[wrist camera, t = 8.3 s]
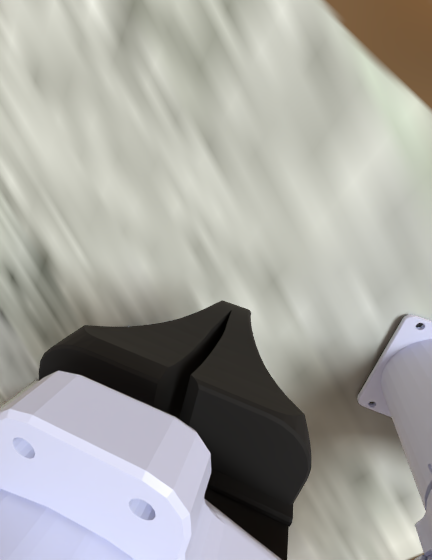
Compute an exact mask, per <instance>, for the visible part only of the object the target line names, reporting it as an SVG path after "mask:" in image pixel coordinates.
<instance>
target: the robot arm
mask: <svg viewBox="0 0 432 560" xmlns="http://www.w3.org/2000/svg"><path fill="white" fill-rule="evenodd" d="M418 323H423V325H422V326H421V327H416V325H417V324H418ZM357 400H358V403H359V404H360V405H361V406H363V407H366V408H368V409H371V410H373V411H376V412H379V413H381V414H384V415H386V416H389V417H392V420H393V422H394V425H395V428H396V431H397V433H398V436H399V439H400V442H401V444H402V447H403V450H404V453H405V455H406V458H407V461H408V464H409V466H410V469H411V472H412V475H413V477H414V480H415V483H416V486H417V488H418V491H419V494H420V497H421V499H422V502H423V505H424V508H425V510H426V513H425V515H424V517H423V518H422V519H421V520H420V521H418V522H417V523H416V524H415V527H416V530H417V533H418V536H419V539H420V542H421V545H422V548H423V552H424V555H422V556H420V557H417V558H415V559H414V560H432V321H431V320H428V319H425V318H422V317H419V316H416V315H407V316H405V317H404V318H403V319H402V321H401V322H400V324H399V326H398V327H397V329H396V331H395V333H394V334H393V336H392V338H391V340H390V341H389V343H388V345H387V346H386V348H385V350H384V352H383V353H382V355H381V357H380V358H379V360H378V362H377V364H376V365H375V367H374V369H373V371H372V372H371V374H370V376H369V377H368V379H367V381H366V383H365V384H364V386H363V388H362V389H361V391H360V393H359V395H358V397H357ZM369 402H374V403H372V404H371V403H369ZM310 470H311V448H310V440H309V434H308V429H307V424H306V419H305V415H304V414H303V413H302V412H301V411H300V409H299V408H298V407H297V406H296V405H295V404H294V403H293V402H292V401H291V400H290V399H289V398H288V397H287V396H286V395H285V394H284V393H283V391H282V390H281V389H280V388H279V386H278V385H277V384H276V383H275V381H274V380H273V378H272V377H271V375H270V374H269V372H268V371H267V369H266V367H265V365H264V364H263V361H262V359H261V357H260V355H259V352H258V350H257V347H256V344H255V340H254V337H253V332H252V327H251V312H250V310H248V309H245V308H242V307H239V306H237V305H234V304H231V303H228V302H225V301H220V302H218V303H216V304H214V305H212V306H210V307H208V308H206V309H203V310H201V311H199V312H197V313H194V314H191V315H189V316H186V317H183V318H180V319H177V320H173V321H168V322H164V323H158V324H151V325H144V326H132V327H104V326H88V325H85V326H83V327H82V328H80V329H78V330H77V331H75V332H74V333H72V334H71V335H69V336H68V337H66V338H65V339H63V340H62V341H60V342H59V343H57V344H56V345H54V346H53V347H52V348H50V349H49V350H48V351H47V352H45V353H44V355H43V357H42V359H41V361H40V368H39V381H38V382H37V383H36V384H34V385H33V386H32V387H31V388H29V389H28V390H27V391H25V392H24V393H23V394H21V395H20V396H19V397H17V398H16V399H15V400H14V401H12V402H11V403H10V404H8V405H7V406H6V407H4V408H3V409H2V410H0V560H287V546H288V526H289V527H290V525H291V523H292V519H293V503H294V501H295V499H296V498H297V496H298V494H299V492H300V491H301V489H302V487H303V486H304V484H305V482H306V480H307V479H308V476H309V473H310Z"/></svg>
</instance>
